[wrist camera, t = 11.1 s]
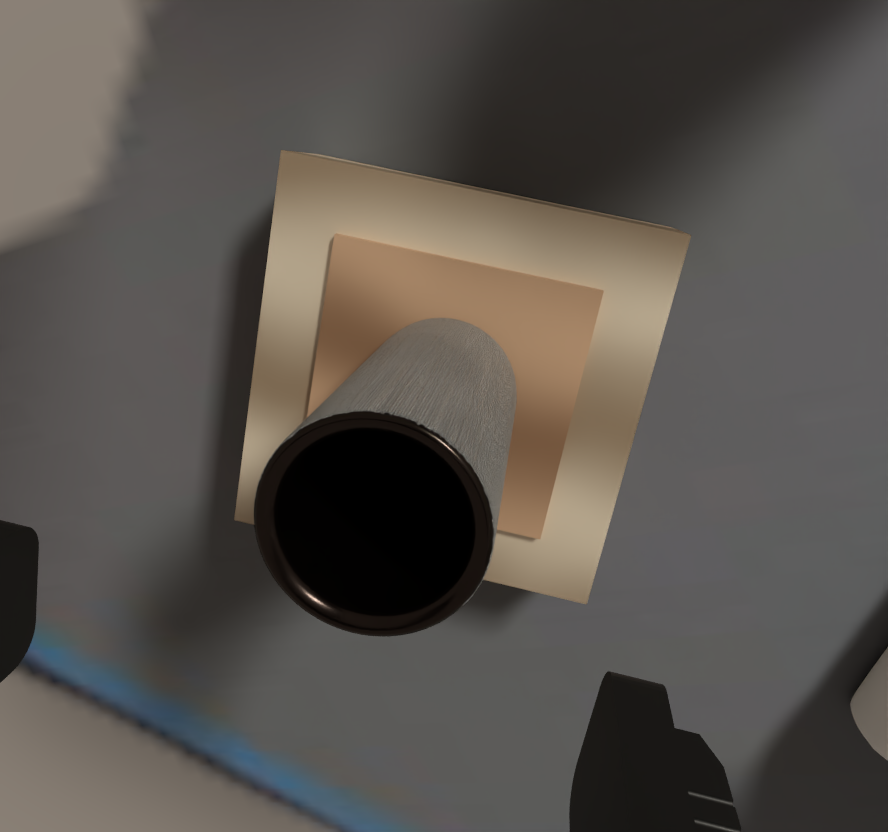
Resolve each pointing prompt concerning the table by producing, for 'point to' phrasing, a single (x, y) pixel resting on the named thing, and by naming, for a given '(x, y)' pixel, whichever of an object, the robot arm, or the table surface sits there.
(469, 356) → the grey and black cylinder
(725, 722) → the table surface
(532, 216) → the plinth
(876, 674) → the statue
